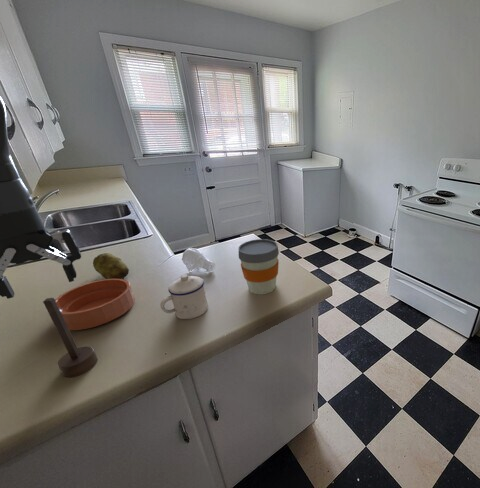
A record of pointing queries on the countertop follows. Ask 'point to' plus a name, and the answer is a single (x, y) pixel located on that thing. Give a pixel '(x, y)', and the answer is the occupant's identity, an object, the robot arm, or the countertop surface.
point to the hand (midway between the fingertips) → (42, 287)
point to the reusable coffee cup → (259, 264)
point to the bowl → (95, 303)
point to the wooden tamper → (70, 345)
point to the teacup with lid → (187, 297)
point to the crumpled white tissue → (196, 260)
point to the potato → (110, 266)
